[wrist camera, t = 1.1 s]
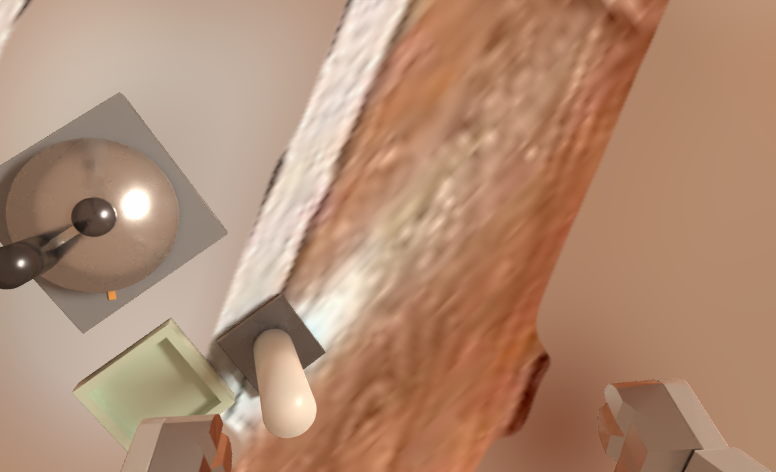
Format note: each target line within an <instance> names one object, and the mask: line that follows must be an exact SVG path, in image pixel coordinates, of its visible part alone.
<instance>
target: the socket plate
mask: <svg viewBox="0 0 776 472" xmlns="http://www.w3.org/2000/svg"><path fill="white" fill-rule="evenodd" d="M269 329H280V330H283V331H284V332H286V333H287V334H288V335H289V336H290V338H291V340H292V342H293V345H294V347H295V350H296V353H297V355H298V358H299V361H300V363H301V366H302V368H303V369H305V368H306V367H307V366H309V365H310V364H311V363H313V362H314V361H315V360H317V359H318V358H319V357H320V356H322V355H323V354H324V353H326V352H325V351H324V349H323V348H322V346H321V345H320V344H319V342H318V341H317V340H316V338H315V337H314V336H313V334H312V333H311V332H310V330H309V329H308V328H307V326H306V325H305V324H304V322H303V321H302V320H301V319H300V317H299V316H298V315H297V313H296V312H295V311H294V309H293V308H292V307H291V305H290V304H289V303H288V301H287V300H286V299H285V297H284V296H283V295H282V293H281V294H279V295H278V296H277V297H275V298H274V299H272V300H271V301H270V302H268V303H267V304H266V305H264V306H263V307H261V308H260V309H259V310H257V311H256V312H255V313H253V314H252V315H250V316H249V317H248V318H246V319H245V320H244V321H242V322H241V323H239V324H238V325H237V326H235V327H234V328H233V329H231V330H230V331H228V332H227V333H226V334H224V335H223V336H222V337H220V338H219V339H218V344H219V345H220V346H221V347H222V349H223V350H224V351H225V352H226V353H227V355H228V356H229V357H230V358H231V360H232V361H233V362H234V363H235V364H236V366H237V367H238V368H239V369H240V371H241V372H242V373H243V374H244V375H245V377H246V378H247V379H248V380H249V381H250V383H251V384H252V385H253V386H254V388H255V389H256V390H257V391H258V392H259V388H258V381H257V374H256V367H255V360H254V353H253V345H254V342H255V340H256V338H257V337H258V336H259V335H260V334H261V333H262V332H264V331H266V330H269Z"/></svg>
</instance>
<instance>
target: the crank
mask: <svg viewBox="0 0 776 472" xmlns="http://www.w3.org/2000/svg"><path fill="white" fill-rule="evenodd" d="M6 222H7V228H8V232H9V235H10V238H11V240H12V244H9V245H6V246H3V247H0V289H14V288H17V287H19V286H21V285H23V284H24V283H26V282H28V281H30V280H32V279H34V278H35V277H37V276H39V275H40V276H42V277H43V278H45V279H47V280H48V281H50V282H52V283H54V284H57V285H59V286H61V287H64V288H67V289H71V290H75V291H81V292H92V293H99V292H110V291H115V290H119V289H123V288H126V287H129V286H131V285H133V284H135V283H138V282H139V281H141V280H143V279H144V278H146V277H147V276H149V275H150V274H151V273H152V272H154V271H155V270H156V269H157V268H158V267H159V266H160V265H161V264H162V262H163V261H164V260H165V258H166V257H167V256H168V254H169V253H170V251H171V249H172V247H173V246H174V243H175V241H176V238H177V235H178V231H179V225H180V207H179V202H178V198H177V195H176V192H175V189H174V187H173V185H172V183H171V181H170V180H169V178H168V177H167V175H166V174H165V172H164V171H163V170H162V169H161V168H160V167H159V166H158V165H157V164H156V163H155V162H154V161H153V160H152V159H151V158H149V157H148V156H146V155H145V154H143V153H142V152H140V151H138V150H136V149H134V148H133V147H130V146H127V145H125V144H122V143H118V142H114V141H111V140H106V139H98V138H81V139H72V140H68V141H64V142H60V143H58V144H55V145H52V146H50V147H48V148H46V149H45V150H43V151H41V152H40V153H38V154H37V155H35V156H34V157H33V158H31V159H30V160H29V161H28V162H27V163H26V164H25V165H24V166H23V168H22V169H21V170H20V171H19V173H18V174H17V176H16V178H15V179H14V181H13V183H12V185H11V188H10V191H9V193H8V198H7V203H6Z"/></svg>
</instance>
